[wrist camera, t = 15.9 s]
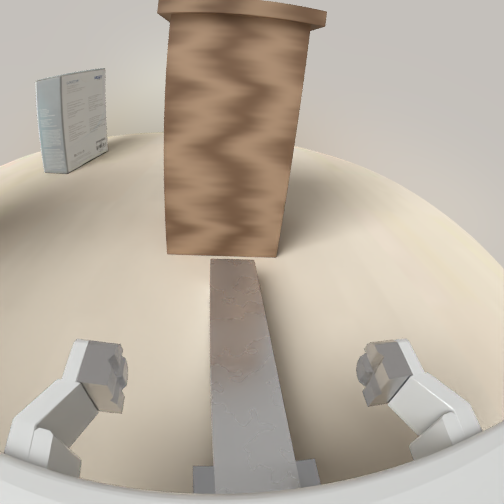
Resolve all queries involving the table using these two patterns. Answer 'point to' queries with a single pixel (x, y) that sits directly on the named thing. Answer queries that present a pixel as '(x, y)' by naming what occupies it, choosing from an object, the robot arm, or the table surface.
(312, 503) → the robot arm
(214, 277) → the link bar
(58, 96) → the hard drive box
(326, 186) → the table surface
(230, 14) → the walnut stand
